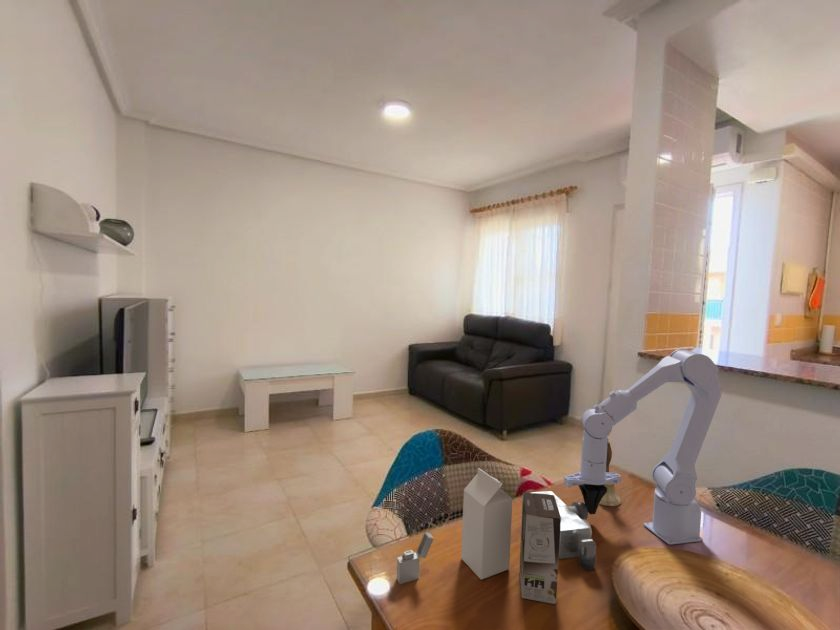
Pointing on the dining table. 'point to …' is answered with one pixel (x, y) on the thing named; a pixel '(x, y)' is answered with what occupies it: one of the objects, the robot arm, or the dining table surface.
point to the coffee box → (539, 547)
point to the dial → (587, 554)
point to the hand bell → (610, 485)
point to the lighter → (412, 560)
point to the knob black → (579, 509)
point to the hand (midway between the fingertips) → (590, 512)
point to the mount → (569, 530)
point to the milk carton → (486, 526)
